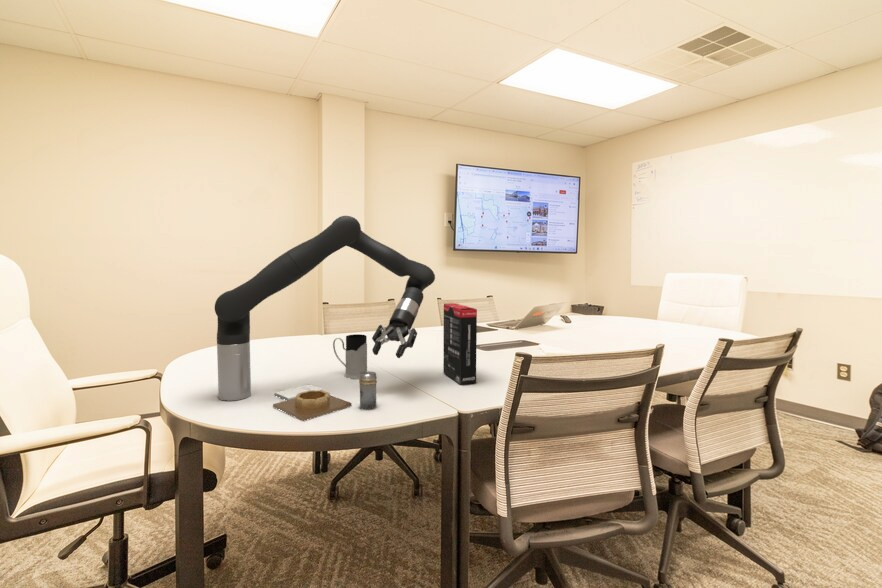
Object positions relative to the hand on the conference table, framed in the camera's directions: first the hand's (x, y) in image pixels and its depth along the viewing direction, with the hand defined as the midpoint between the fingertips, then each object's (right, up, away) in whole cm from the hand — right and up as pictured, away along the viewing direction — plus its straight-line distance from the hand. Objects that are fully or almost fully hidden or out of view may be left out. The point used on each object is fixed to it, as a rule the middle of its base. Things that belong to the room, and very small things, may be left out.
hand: (386, 355), depth 135 cm
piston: (-4, -14, -8) cm, 17 cm away
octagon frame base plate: (-21, -14, -8) cm, 26 cm away
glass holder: (-17, -11, +27) cm, 34 cm away
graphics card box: (+24, -12, +24) cm, 36 cm away
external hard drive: (-29, -14, +4) cm, 32 cm away
